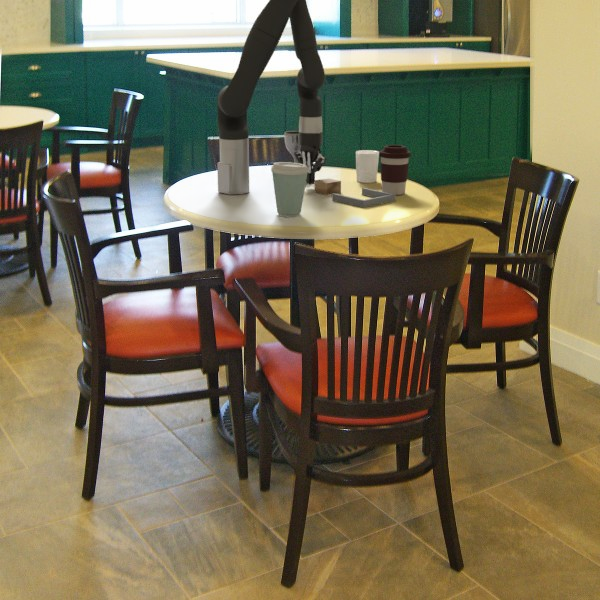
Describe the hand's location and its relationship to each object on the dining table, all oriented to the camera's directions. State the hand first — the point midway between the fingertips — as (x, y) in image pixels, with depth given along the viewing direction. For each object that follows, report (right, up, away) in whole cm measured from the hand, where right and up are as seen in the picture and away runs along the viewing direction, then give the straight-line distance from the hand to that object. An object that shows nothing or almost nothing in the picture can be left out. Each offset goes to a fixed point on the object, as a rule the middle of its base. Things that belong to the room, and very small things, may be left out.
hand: (310, 183), depth 290 cm
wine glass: (-5, +6, +23) cm, 24 cm away
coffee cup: (+27, -4, -7) cm, 28 cm away
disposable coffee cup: (-6, -14, -36) cm, 39 cm away
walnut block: (+6, -4, -5) cm, 9 cm away
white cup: (+19, +2, +13) cm, 23 cm away
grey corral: (+16, -7, -17) cm, 24 cm away
